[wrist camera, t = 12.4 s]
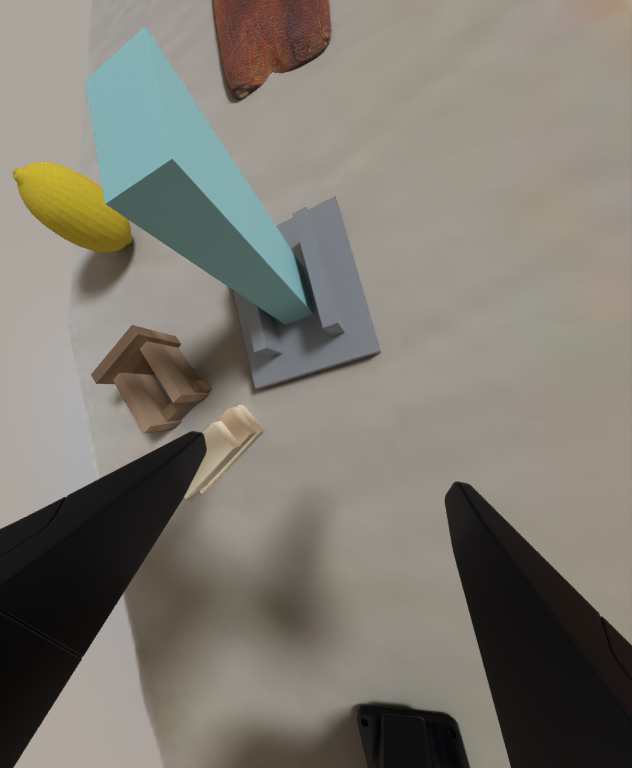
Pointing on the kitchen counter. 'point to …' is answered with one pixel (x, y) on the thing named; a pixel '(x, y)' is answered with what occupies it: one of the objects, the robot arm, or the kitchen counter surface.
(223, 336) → the kitchen counter surface
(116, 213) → the lemon
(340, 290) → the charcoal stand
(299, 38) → the wooden tablet
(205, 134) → the teal rectangular block
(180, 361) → the stand
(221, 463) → the offcut stack
